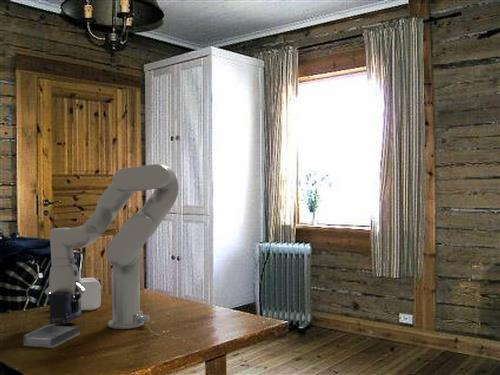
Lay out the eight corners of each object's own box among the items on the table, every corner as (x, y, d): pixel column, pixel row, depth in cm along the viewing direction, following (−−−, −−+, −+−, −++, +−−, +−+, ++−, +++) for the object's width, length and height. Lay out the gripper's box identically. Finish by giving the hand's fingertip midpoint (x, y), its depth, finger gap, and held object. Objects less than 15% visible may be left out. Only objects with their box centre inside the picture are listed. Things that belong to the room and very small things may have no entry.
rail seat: (79, 334, 170) (79, 324, 170) (53, 347, 156) (53, 337, 156) (52, 332, 172) (52, 322, 172) (23, 345, 158) (23, 335, 158)
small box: (66, 324, 175) (64, 293, 175) (49, 324, 176) (47, 293, 176) (82, 315, 185) (80, 287, 185) (66, 315, 186) (64, 287, 186)
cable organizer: (61, 313, 198) (61, 283, 198) (59, 307, 207) (59, 279, 207) (100, 309, 204) (100, 280, 204) (97, 304, 214) (96, 276, 214)
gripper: (90, 260, 182) (93, 309, 182) (48, 261, 186) (51, 309, 186) (78, 263, 175) (82, 315, 175) (35, 264, 179) (38, 315, 179)
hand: (66, 312), depth 181 cm, fingers closed on small box, 6 cm apart
